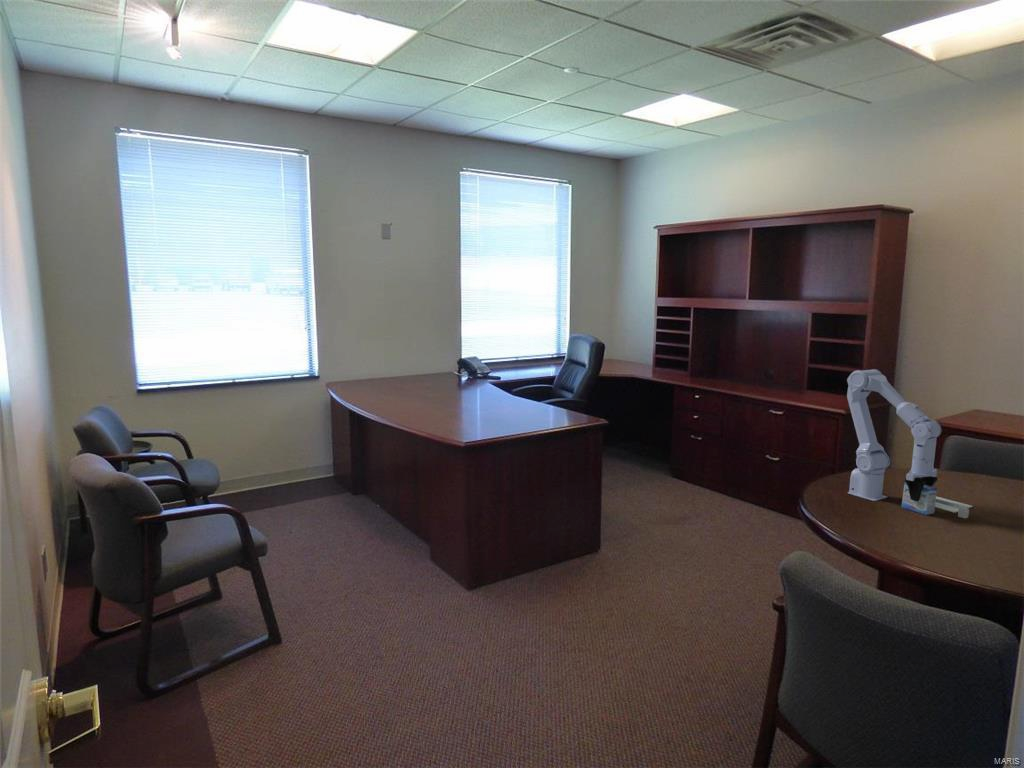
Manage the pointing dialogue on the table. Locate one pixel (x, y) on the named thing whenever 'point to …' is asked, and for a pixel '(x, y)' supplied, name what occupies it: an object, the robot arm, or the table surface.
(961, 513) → the gray bar handle
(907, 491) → the medicine box
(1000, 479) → the table surface
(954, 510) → the sage mat
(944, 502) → the grey bar
